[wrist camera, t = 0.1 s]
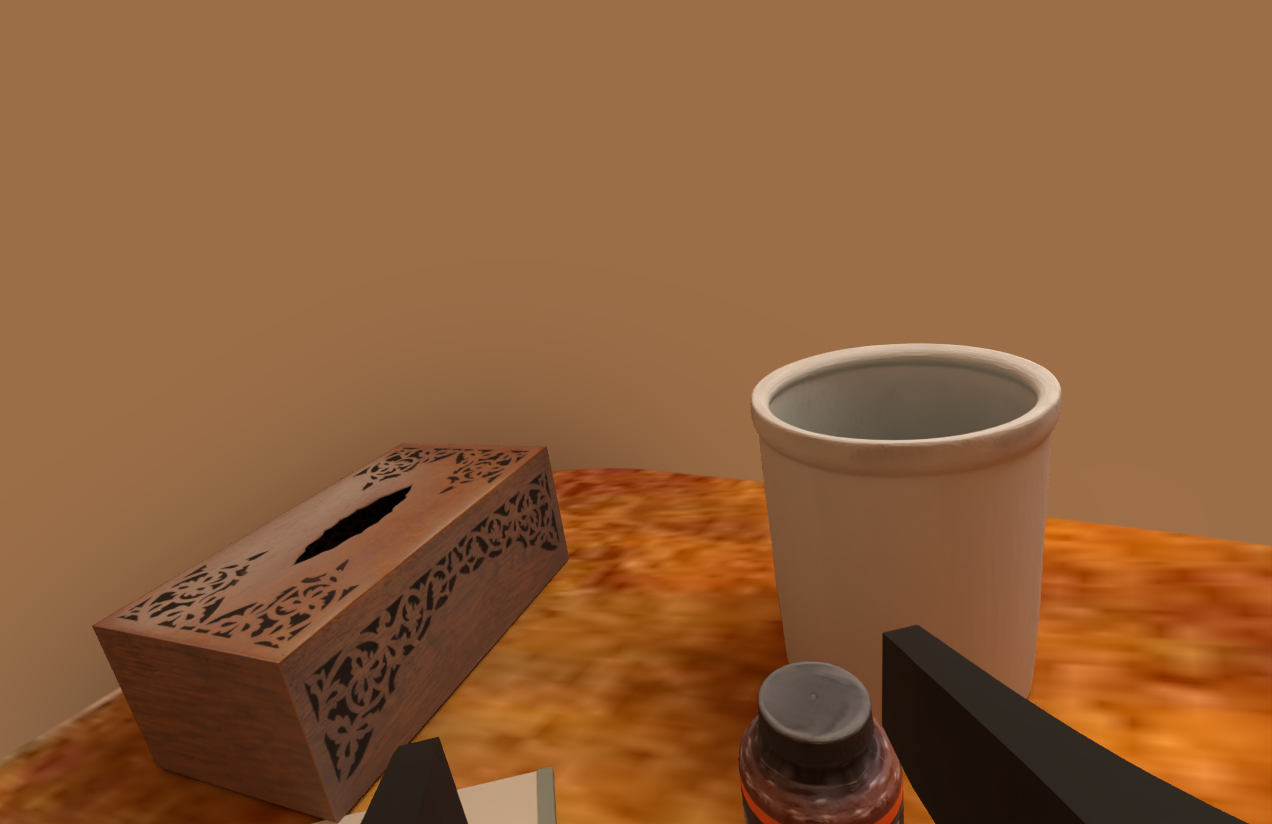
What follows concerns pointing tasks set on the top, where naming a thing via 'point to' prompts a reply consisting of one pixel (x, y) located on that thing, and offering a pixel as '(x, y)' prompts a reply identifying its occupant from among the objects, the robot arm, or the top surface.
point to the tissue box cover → (338, 623)
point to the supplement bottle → (818, 752)
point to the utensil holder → (908, 503)
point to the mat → (502, 801)
